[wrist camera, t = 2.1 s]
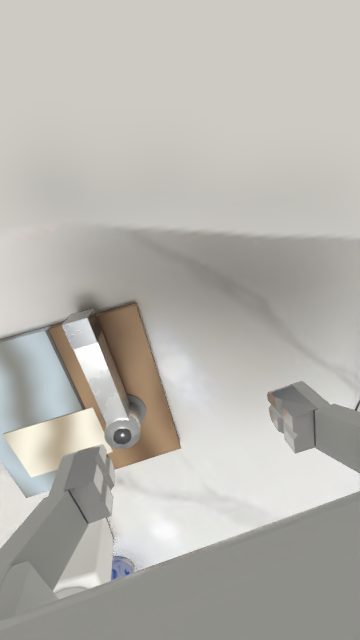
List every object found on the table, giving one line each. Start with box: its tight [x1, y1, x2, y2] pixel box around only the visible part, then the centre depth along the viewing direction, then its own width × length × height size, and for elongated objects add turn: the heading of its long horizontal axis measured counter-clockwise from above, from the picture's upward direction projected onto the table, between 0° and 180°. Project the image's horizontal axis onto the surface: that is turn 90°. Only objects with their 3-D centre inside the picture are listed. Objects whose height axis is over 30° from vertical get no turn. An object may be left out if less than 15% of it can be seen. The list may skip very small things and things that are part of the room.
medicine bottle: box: [53, 518, 114, 599], centre depth 29 cm, size 7×7×12 cm
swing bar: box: [62, 308, 140, 449], centre depth 24 cm, size 15×4×3 cm, turn 13°
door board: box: [0, 303, 181, 498], centre depth 27 cm, size 20×20×1 cm
